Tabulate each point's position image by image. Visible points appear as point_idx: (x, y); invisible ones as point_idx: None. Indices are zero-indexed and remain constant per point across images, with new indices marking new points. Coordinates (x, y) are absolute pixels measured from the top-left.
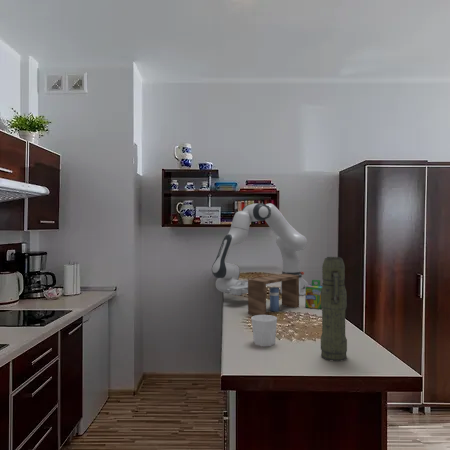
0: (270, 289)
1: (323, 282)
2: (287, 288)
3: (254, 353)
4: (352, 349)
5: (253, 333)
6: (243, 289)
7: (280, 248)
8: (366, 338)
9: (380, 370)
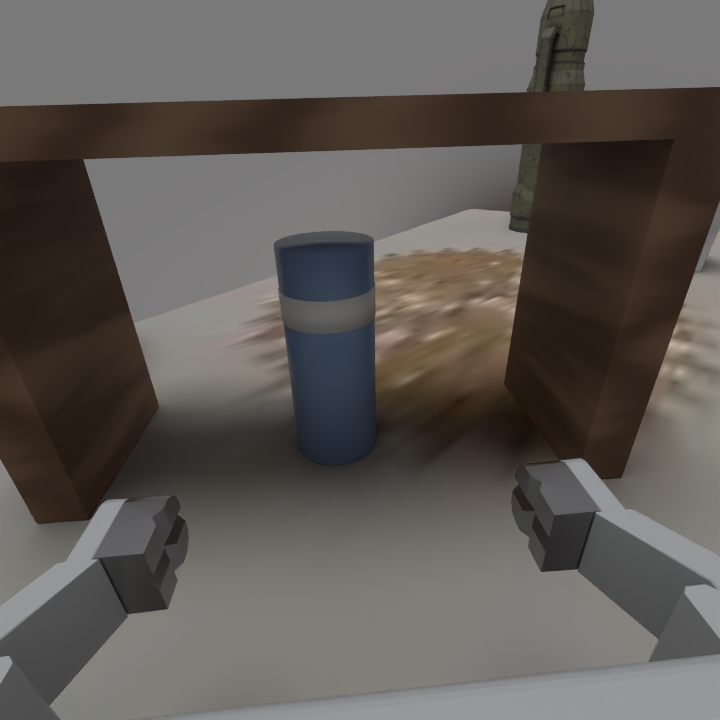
0: (372, 257)
1: (583, 58)
2: (61, 302)
3: (712, 251)
4: (471, 230)
5: (711, 243)
6: (717, 564)
7: None
8: (389, 237)
9: (501, 214)
